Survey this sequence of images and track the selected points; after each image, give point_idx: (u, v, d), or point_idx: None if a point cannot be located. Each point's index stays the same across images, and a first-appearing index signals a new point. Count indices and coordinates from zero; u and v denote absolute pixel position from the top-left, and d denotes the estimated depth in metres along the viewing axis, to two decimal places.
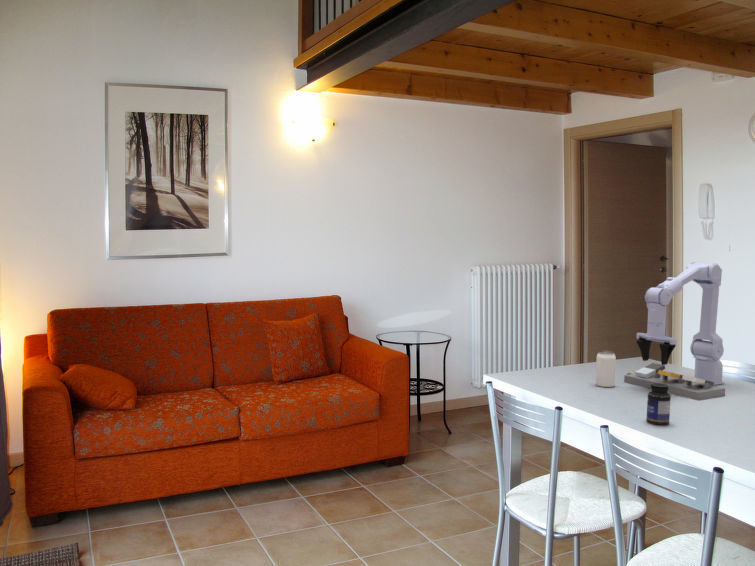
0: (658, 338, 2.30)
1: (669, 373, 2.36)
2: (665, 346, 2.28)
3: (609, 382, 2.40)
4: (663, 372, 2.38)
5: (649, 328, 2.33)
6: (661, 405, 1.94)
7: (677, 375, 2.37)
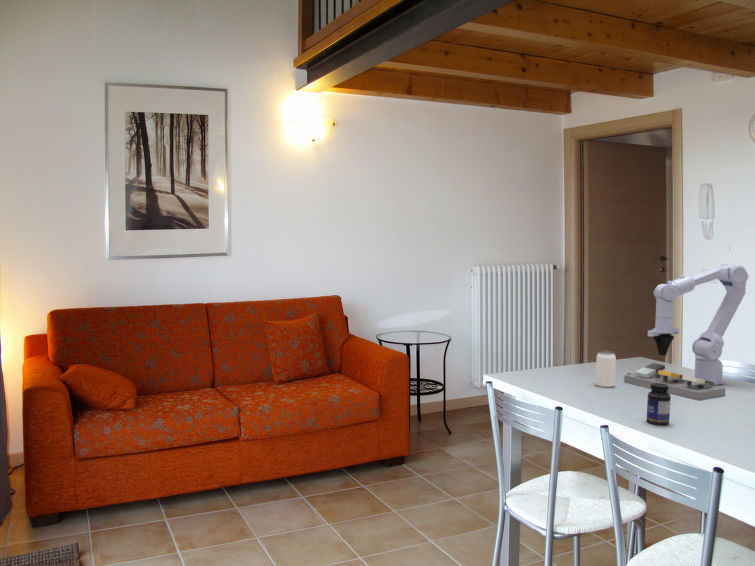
0: None
1: (669, 373, 2.36)
2: None
3: (609, 382, 2.40)
4: (663, 372, 2.38)
5: None
6: (661, 405, 1.94)
7: (677, 375, 2.37)
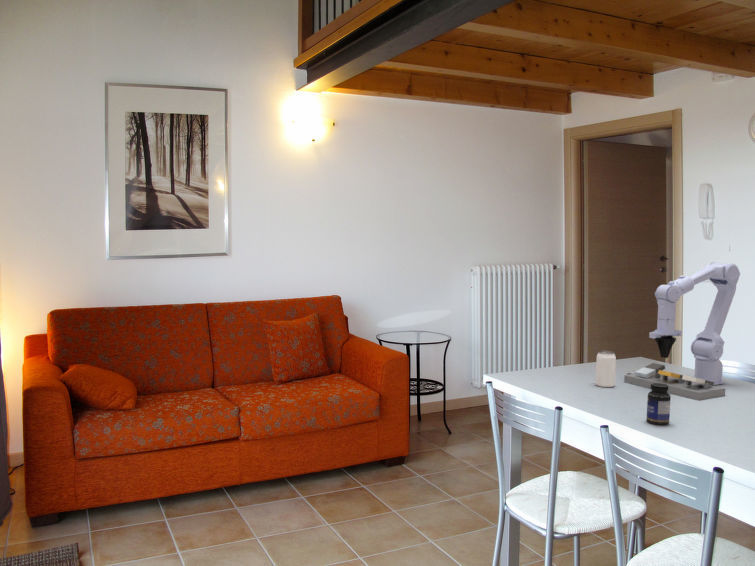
0: None
1: (669, 373, 2.36)
2: (655, 338, 2.43)
3: (609, 382, 2.40)
4: (663, 372, 2.38)
5: None
6: (661, 405, 1.94)
7: (677, 375, 2.37)
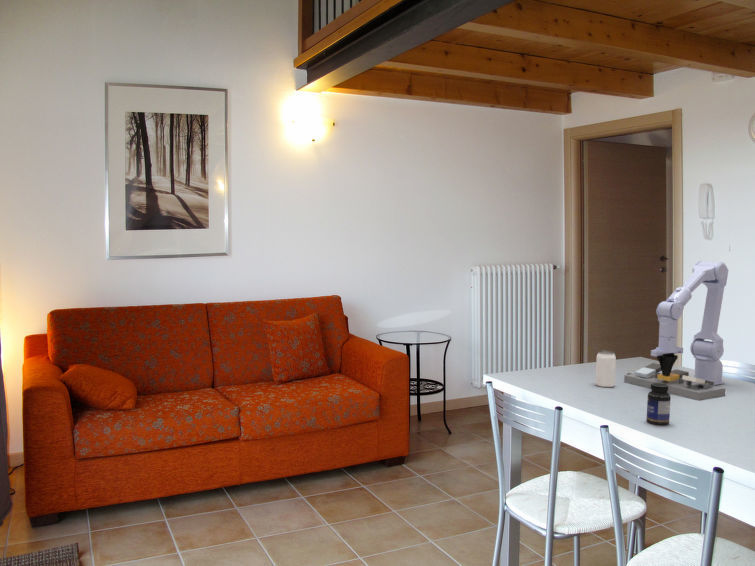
0: None
1: (668, 378, 2.36)
2: (656, 355, 2.38)
3: (609, 382, 2.40)
4: (662, 377, 2.38)
5: None
6: (661, 405, 1.94)
7: (676, 376, 2.37)
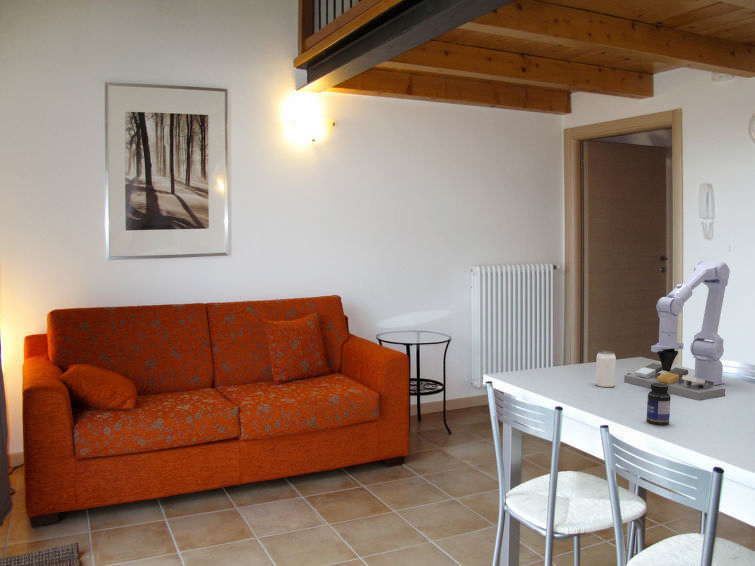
0: None
1: (668, 380, 2.36)
2: None
3: (609, 382, 2.40)
4: (662, 379, 2.38)
5: None
6: (661, 405, 1.94)
7: (676, 377, 2.37)
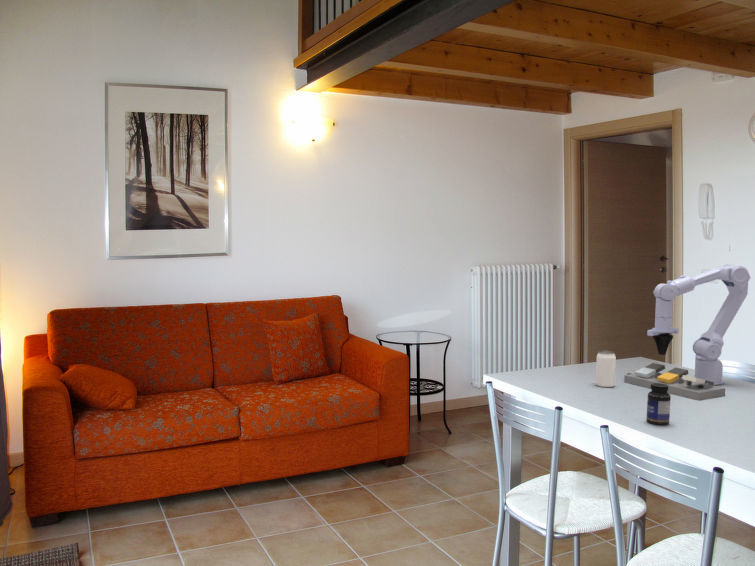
0: None
1: (668, 380, 2.36)
2: (652, 335, 2.49)
3: (609, 382, 2.40)
4: (662, 379, 2.38)
5: None
6: (661, 405, 1.94)
7: (676, 377, 2.37)
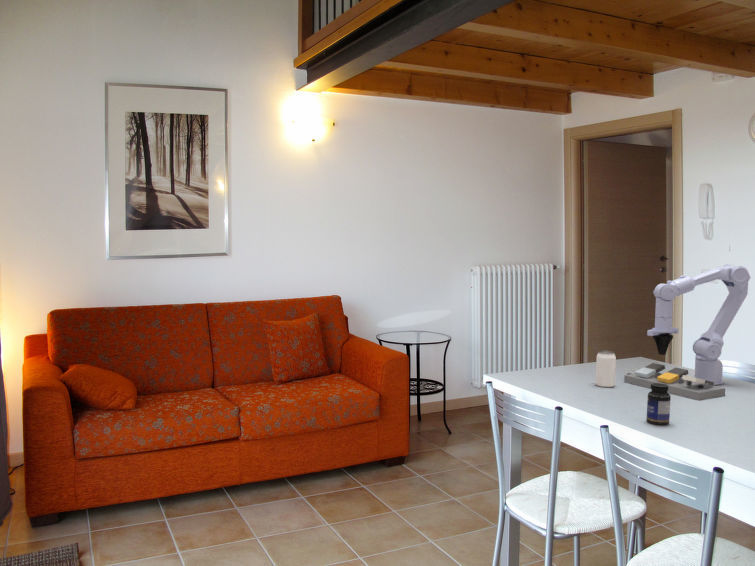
0: None
1: (668, 380, 2.36)
2: (652, 335, 2.49)
3: (609, 382, 2.40)
4: (662, 379, 2.38)
5: None
6: (661, 405, 1.94)
7: (676, 377, 2.37)
